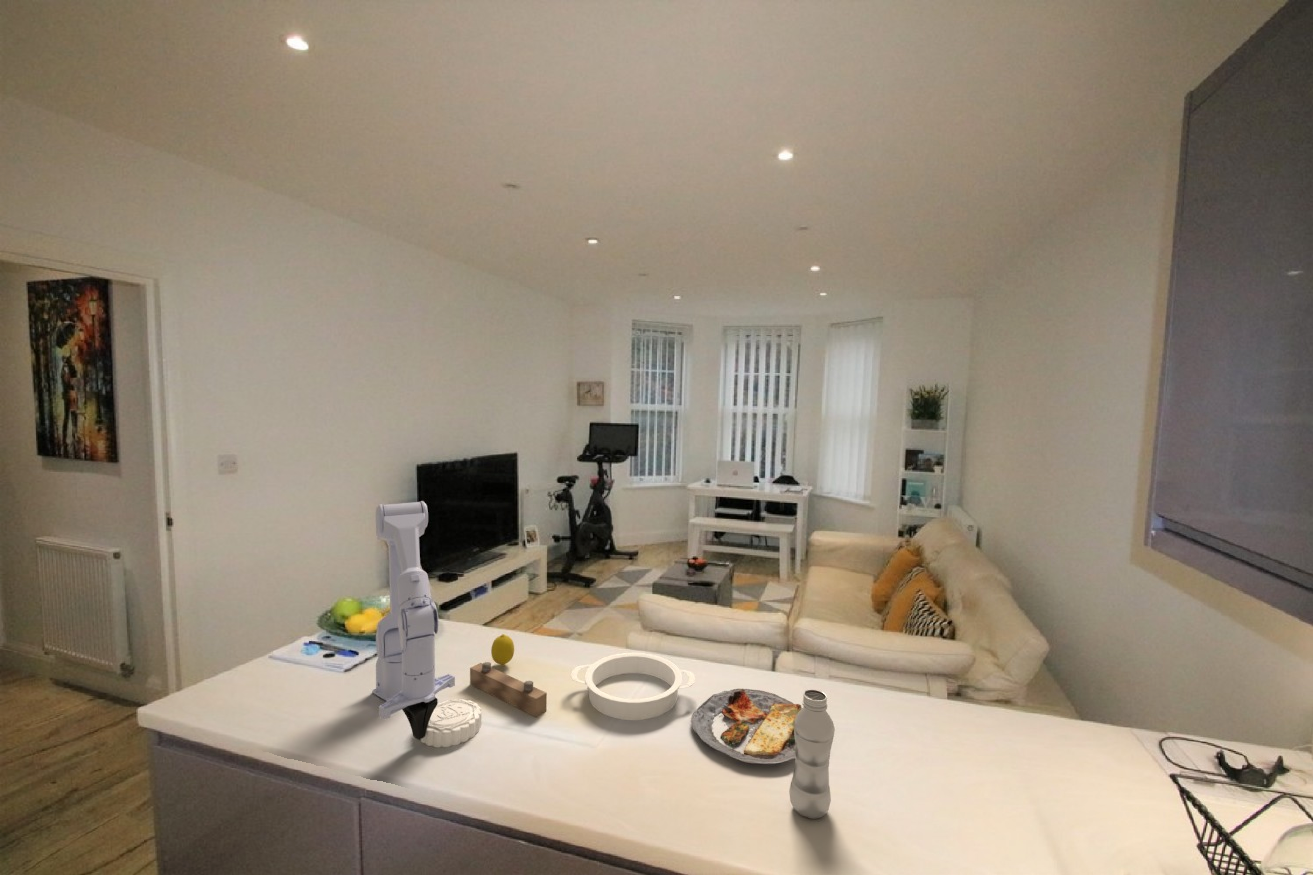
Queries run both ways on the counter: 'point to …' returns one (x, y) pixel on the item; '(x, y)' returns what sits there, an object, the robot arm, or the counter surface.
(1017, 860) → the counter surface
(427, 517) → the robot arm
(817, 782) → the plastic bottle
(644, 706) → the pot
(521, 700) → the bar
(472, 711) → the mooncake
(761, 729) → the food plate
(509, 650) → the lemon
